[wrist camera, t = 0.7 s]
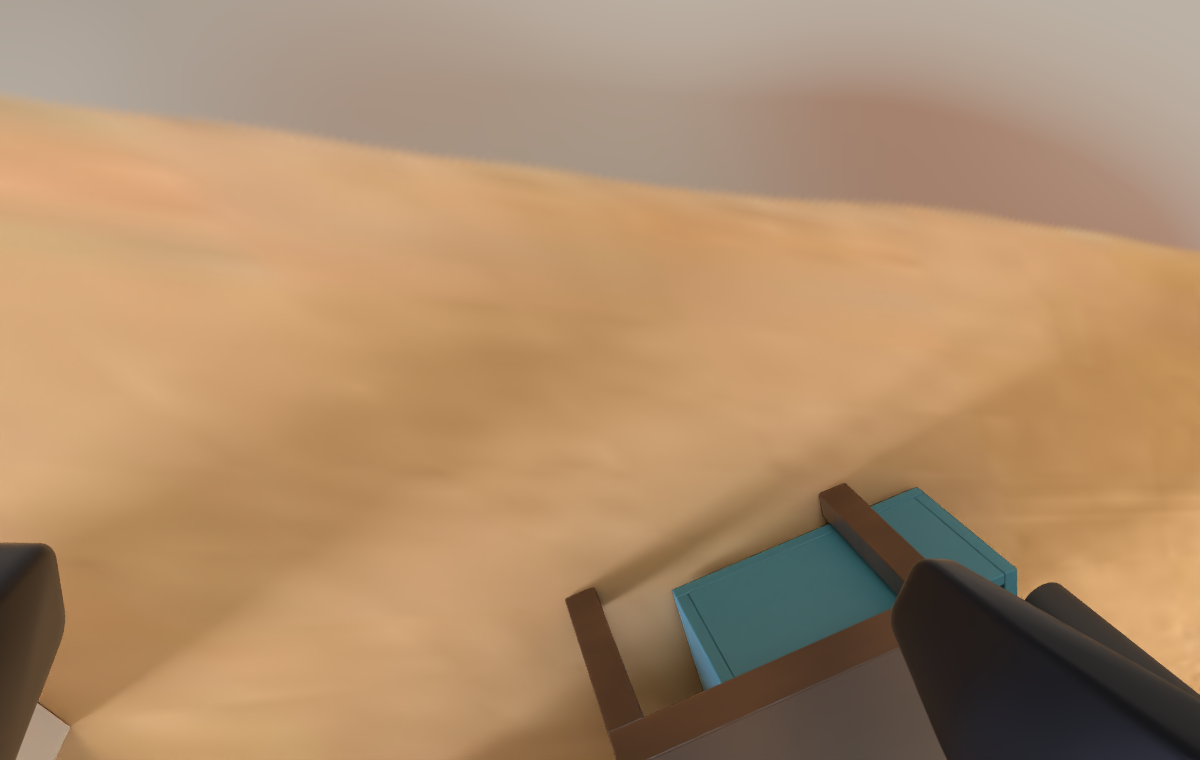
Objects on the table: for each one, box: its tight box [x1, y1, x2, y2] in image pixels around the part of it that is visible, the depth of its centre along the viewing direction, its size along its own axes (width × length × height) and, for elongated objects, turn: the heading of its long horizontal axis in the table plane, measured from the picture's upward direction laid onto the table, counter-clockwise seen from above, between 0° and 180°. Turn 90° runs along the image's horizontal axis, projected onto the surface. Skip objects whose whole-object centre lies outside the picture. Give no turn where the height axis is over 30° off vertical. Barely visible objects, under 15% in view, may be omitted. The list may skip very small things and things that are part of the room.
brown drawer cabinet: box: [565, 483, 947, 760], centre depth 28 cm, size 12×12×8 cm
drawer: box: [672, 487, 1200, 700], centre depth 26 cm, size 14×9×12 cm, turn 105°
